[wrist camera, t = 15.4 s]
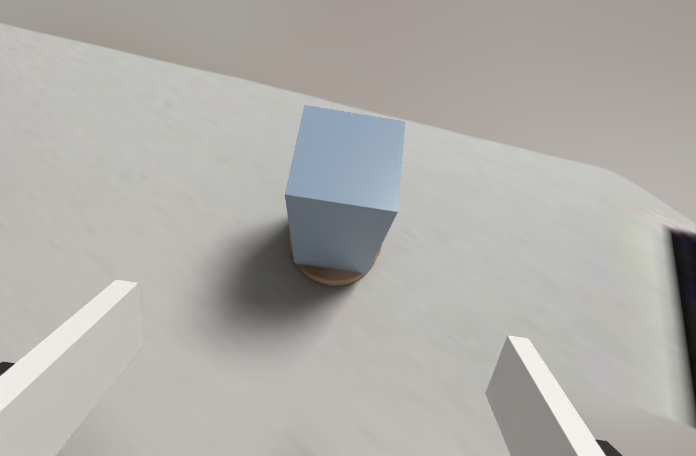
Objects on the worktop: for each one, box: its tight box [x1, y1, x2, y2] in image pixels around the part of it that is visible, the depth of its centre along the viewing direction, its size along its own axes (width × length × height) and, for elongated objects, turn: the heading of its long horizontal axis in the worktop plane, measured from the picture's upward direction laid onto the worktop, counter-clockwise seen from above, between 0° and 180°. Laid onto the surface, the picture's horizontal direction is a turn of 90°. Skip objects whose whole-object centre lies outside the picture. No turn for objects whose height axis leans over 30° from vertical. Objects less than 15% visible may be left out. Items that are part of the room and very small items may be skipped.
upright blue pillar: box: [285, 105, 405, 274], centre depth 26 cm, size 6×6×12 cm
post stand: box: [289, 228, 382, 286], centre depth 30 cm, size 8×8×8 cm
